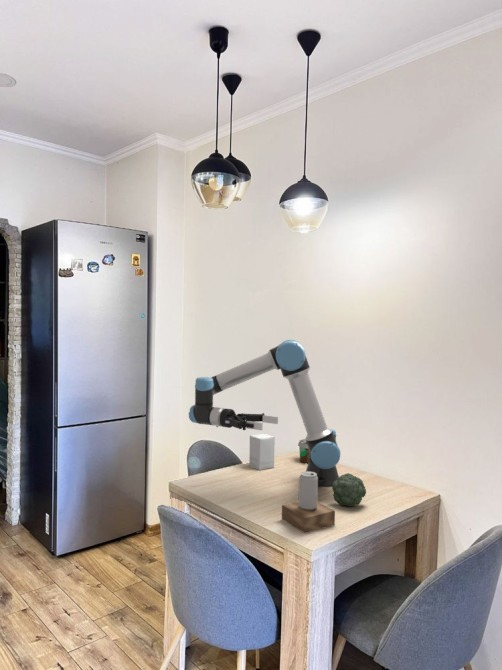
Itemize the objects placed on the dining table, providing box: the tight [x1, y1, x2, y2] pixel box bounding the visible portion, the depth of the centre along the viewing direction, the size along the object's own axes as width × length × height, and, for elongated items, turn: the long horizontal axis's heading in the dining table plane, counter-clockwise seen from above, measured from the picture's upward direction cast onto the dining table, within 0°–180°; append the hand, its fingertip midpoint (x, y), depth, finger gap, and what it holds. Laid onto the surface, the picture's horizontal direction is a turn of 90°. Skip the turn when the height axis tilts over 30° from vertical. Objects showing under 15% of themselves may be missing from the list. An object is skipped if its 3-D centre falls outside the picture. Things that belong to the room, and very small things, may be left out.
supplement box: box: [248, 433, 276, 471], centre depth 230 cm, size 9×9×15 cm
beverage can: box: [298, 470, 319, 510], centre depth 166 cm, size 6×6×12 cm
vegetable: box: [331, 472, 367, 507], centre depth 185 cm, size 12×13×15 cm
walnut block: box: [281, 500, 336, 534], centre depth 167 cm, size 13×13×5 cm
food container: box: [297, 438, 309, 465], centre depth 241 cm, size 12×6×10 cm, turn 178°
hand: (270, 423), depth 186 cm, fingers open, 13 cm apart
